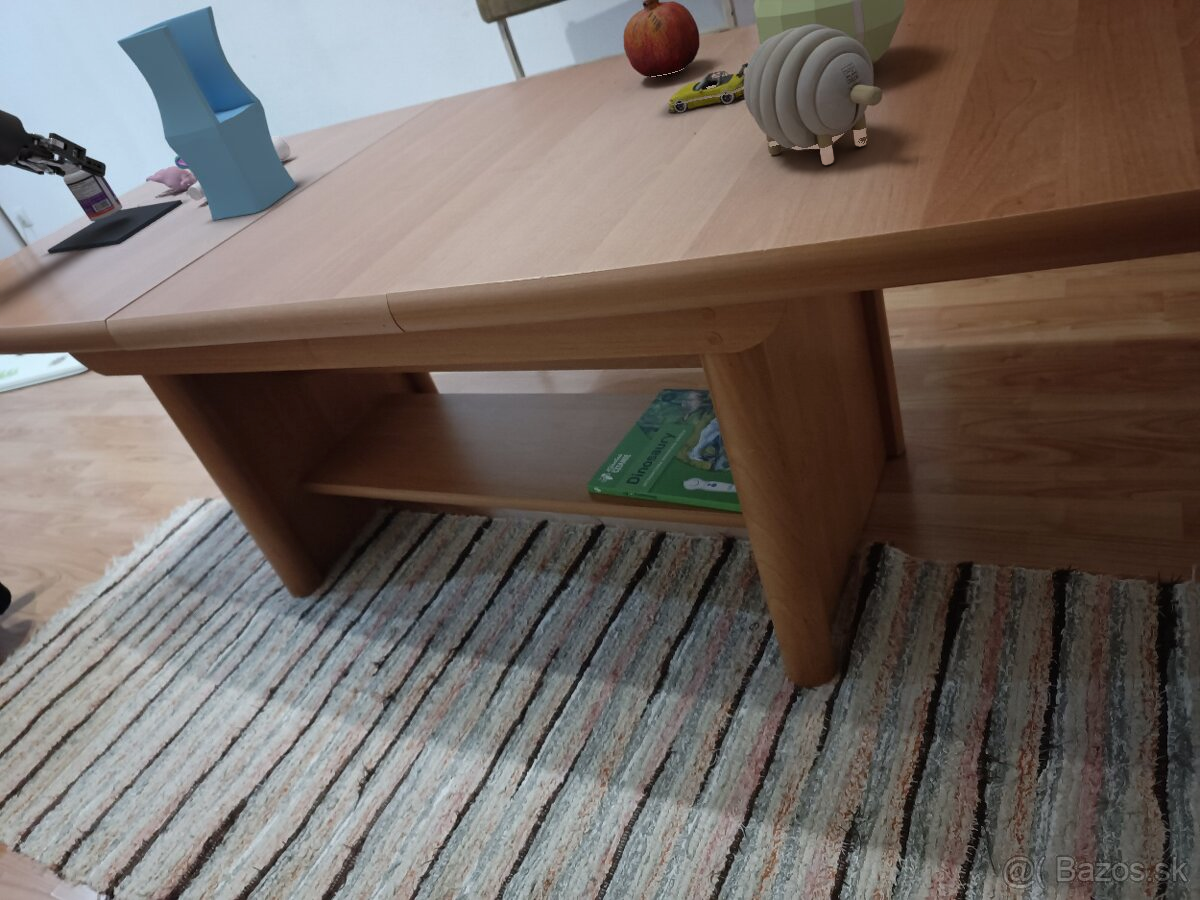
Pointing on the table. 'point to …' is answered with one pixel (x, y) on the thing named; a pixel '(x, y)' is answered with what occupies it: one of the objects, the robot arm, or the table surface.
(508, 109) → the table surface
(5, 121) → the robot arm
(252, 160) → the vase
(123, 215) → the mat
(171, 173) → the pink figurine
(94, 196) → the pill bottle
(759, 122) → the toy sheep
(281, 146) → the binoculars
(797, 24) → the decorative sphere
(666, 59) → the fruit
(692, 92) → the toy car
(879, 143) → the table surface
